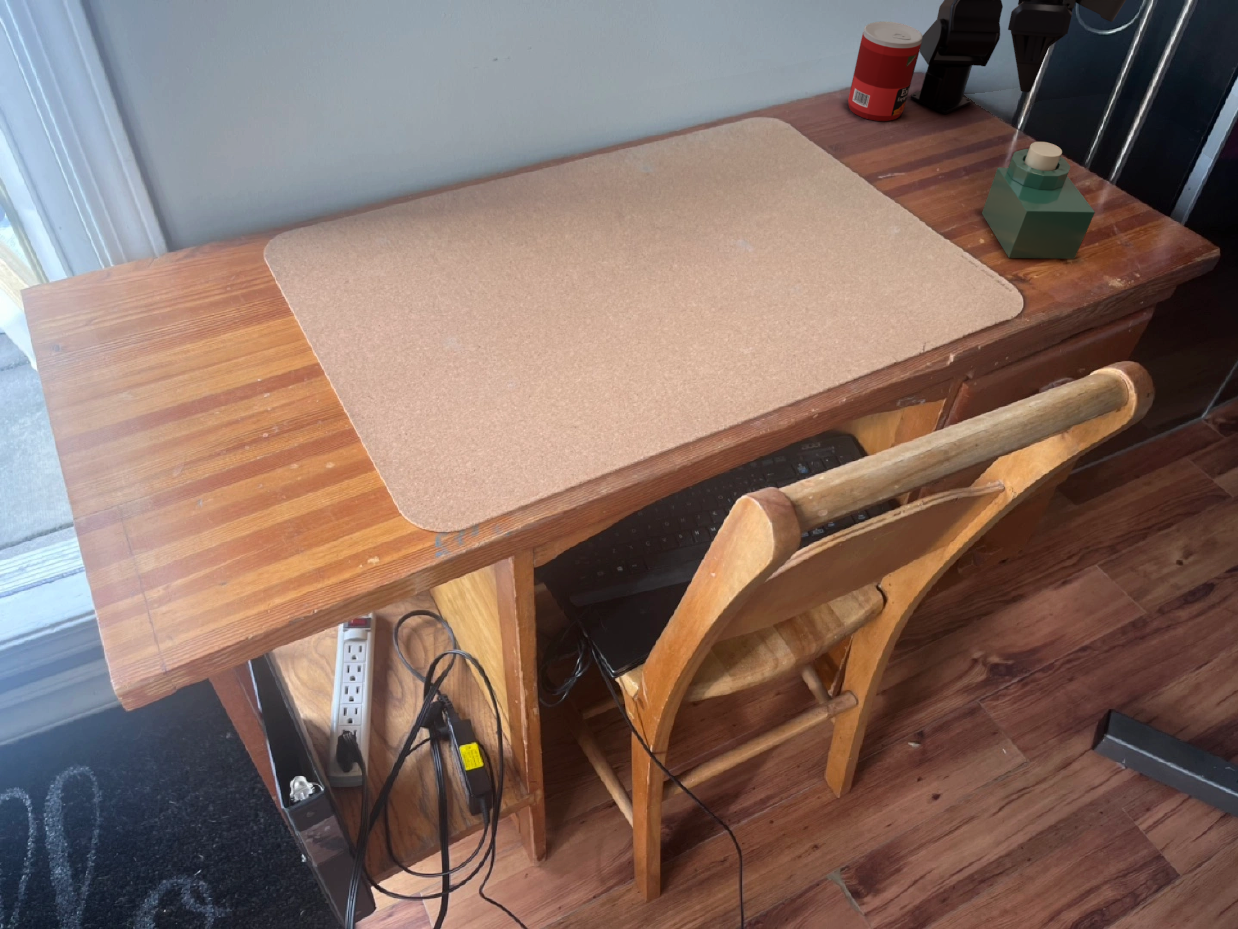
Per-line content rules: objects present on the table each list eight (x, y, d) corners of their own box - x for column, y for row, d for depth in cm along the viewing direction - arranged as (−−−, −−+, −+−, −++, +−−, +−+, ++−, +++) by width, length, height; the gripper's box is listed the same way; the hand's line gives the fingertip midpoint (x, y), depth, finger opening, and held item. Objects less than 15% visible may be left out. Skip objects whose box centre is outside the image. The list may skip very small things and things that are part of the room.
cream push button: (1019, 157, 116) (1025, 141, 115) (1049, 157, 116) (1055, 141, 115) (1030, 172, 114) (1036, 155, 112) (1060, 172, 114) (1067, 156, 112)
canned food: (902, 125, 138) (923, 46, 130) (845, 117, 139) (863, 38, 131) (902, 102, 143) (922, 25, 136) (847, 94, 144) (864, 17, 136)
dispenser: (978, 208, 122) (998, 147, 117) (1040, 209, 123) (1063, 149, 117) (1008, 258, 114) (1032, 196, 109) (1074, 259, 115) (1101, 197, 109)
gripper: (1140, -50, 100) (1098, 110, 108) (1133, -54, 115) (1097, 87, 123) (1025, -55, 104) (992, 100, 112) (1033, -59, 119) (1003, 78, 127)
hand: (1025, 91), depth 118 cm, fingers closed
